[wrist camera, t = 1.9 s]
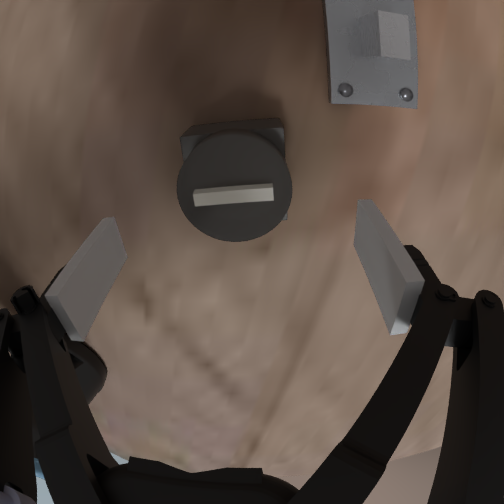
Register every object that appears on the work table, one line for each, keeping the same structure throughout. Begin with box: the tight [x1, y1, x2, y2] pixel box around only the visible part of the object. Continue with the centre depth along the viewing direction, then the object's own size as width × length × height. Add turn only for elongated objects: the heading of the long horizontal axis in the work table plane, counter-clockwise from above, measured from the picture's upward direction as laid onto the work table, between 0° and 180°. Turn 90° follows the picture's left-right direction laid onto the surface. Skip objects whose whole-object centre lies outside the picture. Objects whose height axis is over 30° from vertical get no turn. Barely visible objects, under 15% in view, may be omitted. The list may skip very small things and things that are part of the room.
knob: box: [177, 118, 292, 242], centre depth 23 cm, size 8×8×8 cm
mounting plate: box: [322, 0, 418, 109], centre depth 17 cm, size 8×12×5 cm, turn 5°
